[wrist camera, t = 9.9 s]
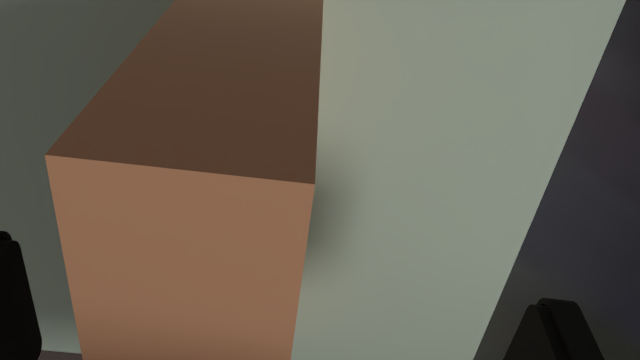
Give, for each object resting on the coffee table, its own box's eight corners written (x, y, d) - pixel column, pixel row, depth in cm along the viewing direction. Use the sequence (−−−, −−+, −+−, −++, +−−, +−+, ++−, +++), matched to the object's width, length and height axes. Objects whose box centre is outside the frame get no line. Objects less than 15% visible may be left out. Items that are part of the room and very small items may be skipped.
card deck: (326, -15, 11) (320, 185, 5) (284, 328, 16) (257, 614, 10) (198, -32, 11) (38, 154, 5) (199, 320, 16) (125, 605, 10)
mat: (645, -90, 10) (661, -85, 10) (457, 372, 18) (460, 388, 18) (-347, -229, 10) (-385, -232, 9) (-103, 320, 17) (-116, 335, 17)
